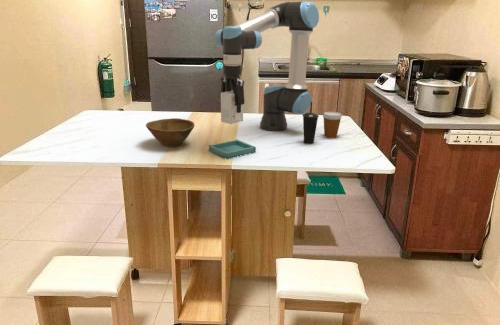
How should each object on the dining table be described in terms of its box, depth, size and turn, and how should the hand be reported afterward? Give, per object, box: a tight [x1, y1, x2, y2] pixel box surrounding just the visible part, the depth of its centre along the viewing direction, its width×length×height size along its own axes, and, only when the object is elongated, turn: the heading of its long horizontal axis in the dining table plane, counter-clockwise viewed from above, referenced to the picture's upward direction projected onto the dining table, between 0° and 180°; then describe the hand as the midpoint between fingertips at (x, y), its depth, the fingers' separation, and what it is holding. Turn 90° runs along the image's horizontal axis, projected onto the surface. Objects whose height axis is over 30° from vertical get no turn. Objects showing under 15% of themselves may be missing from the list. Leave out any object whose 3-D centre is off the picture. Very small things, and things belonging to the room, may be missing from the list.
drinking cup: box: [302, 101, 319, 145], centre depth 196 cm, size 8×8×20 cm
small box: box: [220, 89, 244, 125], centre depth 177 cm, size 8×6×13 cm
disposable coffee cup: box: [322, 111, 343, 139], centre depth 208 cm, size 10×10×12 cm
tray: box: [208, 139, 257, 160], centre depth 183 cm, size 14×16×3 cm
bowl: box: [145, 117, 195, 147], centre depth 192 cm, size 22×23×10 cm
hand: (232, 117), depth 179 cm, fingers closed on small box, 7 cm apart
